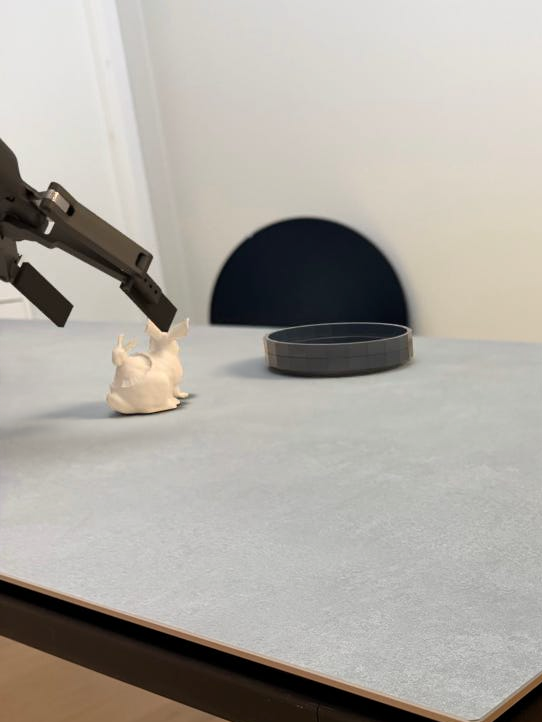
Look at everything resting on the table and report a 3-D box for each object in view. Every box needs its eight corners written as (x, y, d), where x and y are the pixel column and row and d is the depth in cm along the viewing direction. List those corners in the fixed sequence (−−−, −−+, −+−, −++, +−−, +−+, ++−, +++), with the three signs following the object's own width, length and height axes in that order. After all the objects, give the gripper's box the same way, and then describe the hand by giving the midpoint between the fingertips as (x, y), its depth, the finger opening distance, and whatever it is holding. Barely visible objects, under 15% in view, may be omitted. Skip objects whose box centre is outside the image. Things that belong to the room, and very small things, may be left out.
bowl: (237, 373, 122) (233, 341, 120) (318, 349, 137) (315, 320, 136) (367, 382, 115) (365, 347, 113) (437, 355, 130) (436, 325, 129)
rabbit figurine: (182, 394, 111) (169, 306, 106) (228, 400, 107) (215, 310, 102) (94, 414, 102) (75, 320, 97) (141, 422, 98) (123, 324, 94)
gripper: (-174, 189, 81) (11, 344, 100) (43, 182, 71) (202, 355, 90) (-135, 120, 83) (40, 285, 102) (81, 105, 73) (229, 290, 92)
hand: (116, 318), depth 96 cm, fingers open, 13 cm apart
